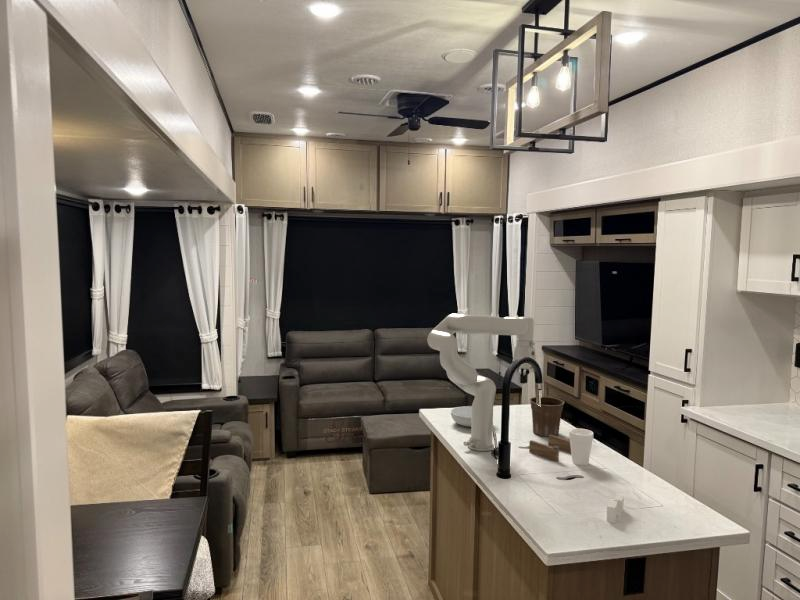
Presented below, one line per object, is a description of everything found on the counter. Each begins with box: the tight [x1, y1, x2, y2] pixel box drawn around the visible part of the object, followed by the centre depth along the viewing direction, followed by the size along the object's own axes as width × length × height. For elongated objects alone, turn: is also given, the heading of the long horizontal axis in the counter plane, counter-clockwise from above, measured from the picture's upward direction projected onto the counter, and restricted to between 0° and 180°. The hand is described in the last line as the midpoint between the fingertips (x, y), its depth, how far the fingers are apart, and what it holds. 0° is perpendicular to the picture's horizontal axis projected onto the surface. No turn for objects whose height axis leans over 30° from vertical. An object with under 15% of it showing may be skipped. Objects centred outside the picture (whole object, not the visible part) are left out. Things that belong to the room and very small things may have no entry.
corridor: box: [528, 435, 571, 463], centre depth 232 cm, size 15×14×6 cm
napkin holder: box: [606, 493, 625, 524], centre depth 174 cm, size 15×11×6 cm
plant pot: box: [529, 396, 565, 438], centre depth 259 cm, size 16×16×16 cm
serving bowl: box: [450, 405, 472, 428], centre depth 273 cm, size 21×21×7 cm
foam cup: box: [568, 428, 594, 467], centre depth 221 cm, size 10×9×13 cm
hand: (523, 382), depth 247 cm, fingers closed
